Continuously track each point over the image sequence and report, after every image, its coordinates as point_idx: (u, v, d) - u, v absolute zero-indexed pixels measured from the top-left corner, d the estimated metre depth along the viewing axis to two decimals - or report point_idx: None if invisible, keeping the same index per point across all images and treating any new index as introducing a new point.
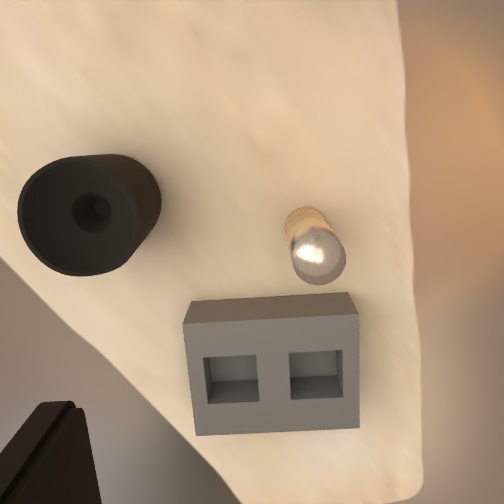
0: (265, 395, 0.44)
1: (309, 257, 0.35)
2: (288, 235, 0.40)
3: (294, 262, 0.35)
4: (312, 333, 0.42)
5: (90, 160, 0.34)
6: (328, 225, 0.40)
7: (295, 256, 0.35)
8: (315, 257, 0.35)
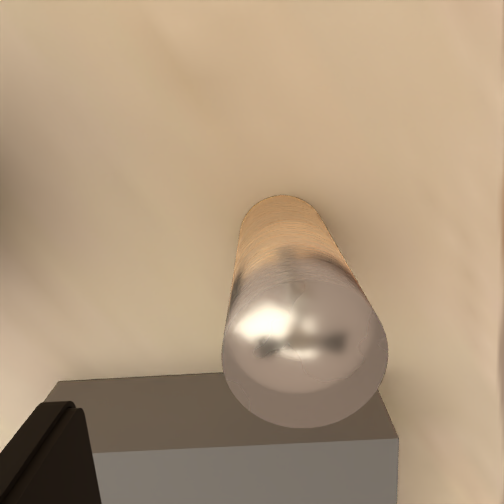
0: None
1: (275, 351, 0.11)
2: None
3: (227, 365, 0.11)
4: (295, 477, 0.19)
5: None
6: (331, 239, 0.16)
7: (230, 348, 0.11)
8: (292, 350, 0.11)
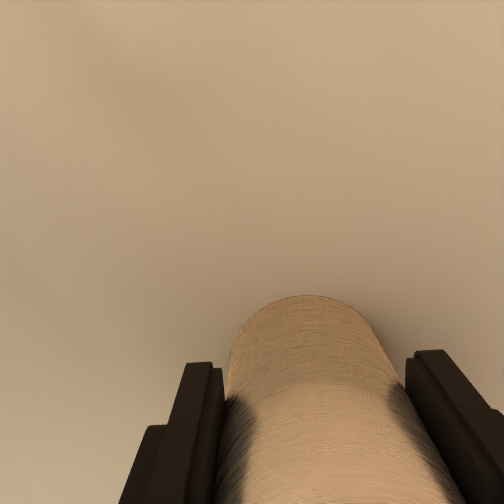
0: None
1: None
2: None
3: None
4: None
5: None
6: (443, 470, 0.07)
7: None
8: None
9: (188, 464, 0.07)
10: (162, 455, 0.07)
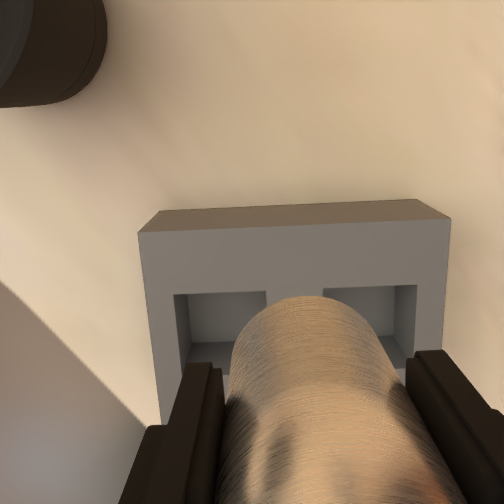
0: None
1: None
2: (213, 502, 0.07)
3: None
4: (367, 253, 0.24)
5: None
6: (445, 471, 0.07)
7: None
8: None
9: (189, 464, 0.07)
10: (162, 455, 0.07)
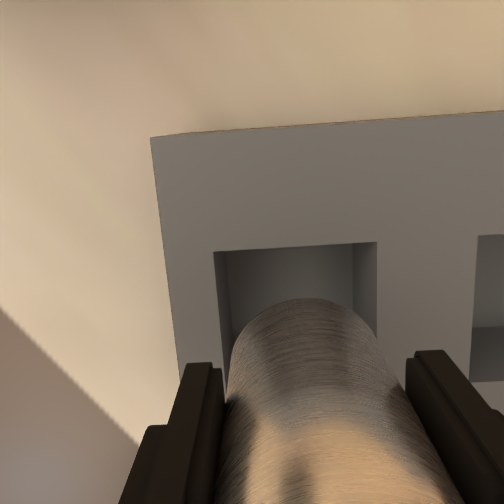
0: (395, 369, 0.15)
1: None
2: None
3: None
4: None
5: None
6: (443, 474, 0.07)
7: None
8: None
9: (189, 464, 0.07)
10: (162, 455, 0.07)
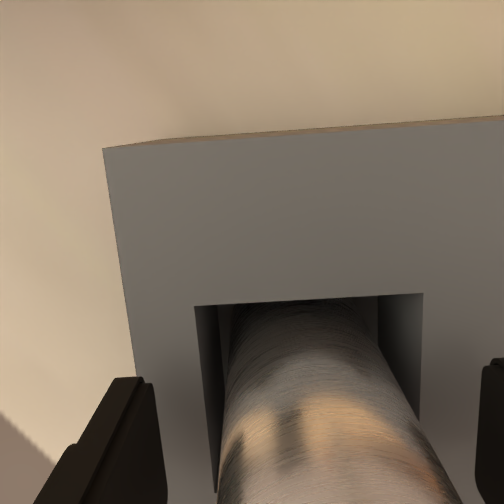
0: (443, 461, 0.11)
1: None
2: (223, 420, 0.10)
3: None
4: None
5: None
6: (395, 387, 0.09)
7: None
8: None
9: (84, 492, 0.06)
10: (60, 482, 0.07)
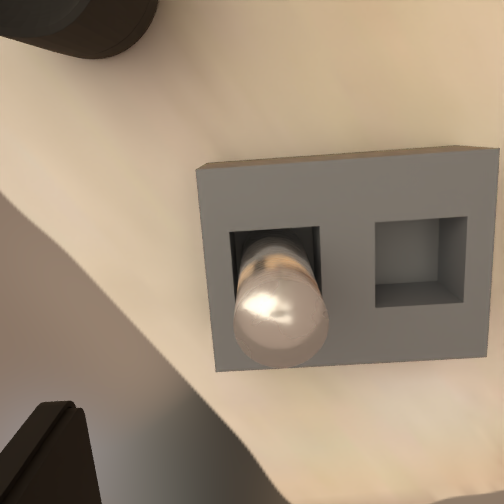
0: (332, 300, 0.26)
1: (263, 321, 0.19)
2: (239, 272, 0.25)
3: (236, 331, 0.19)
4: (418, 186, 0.25)
5: None
6: (302, 255, 0.24)
7: (238, 320, 0.19)
8: (273, 320, 0.19)
9: None
10: None
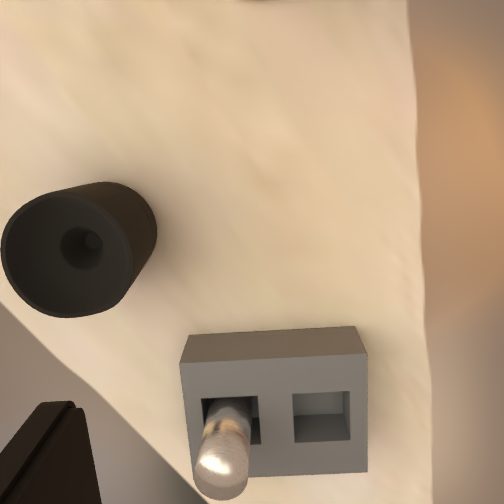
0: (267, 438, 0.41)
1: (211, 475, 0.34)
2: (205, 424, 0.40)
3: (196, 480, 0.34)
4: (318, 373, 0.40)
5: (79, 195, 0.32)
6: (243, 416, 0.39)
7: (196, 475, 0.34)
8: (216, 475, 0.34)
9: None
10: None
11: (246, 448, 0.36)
